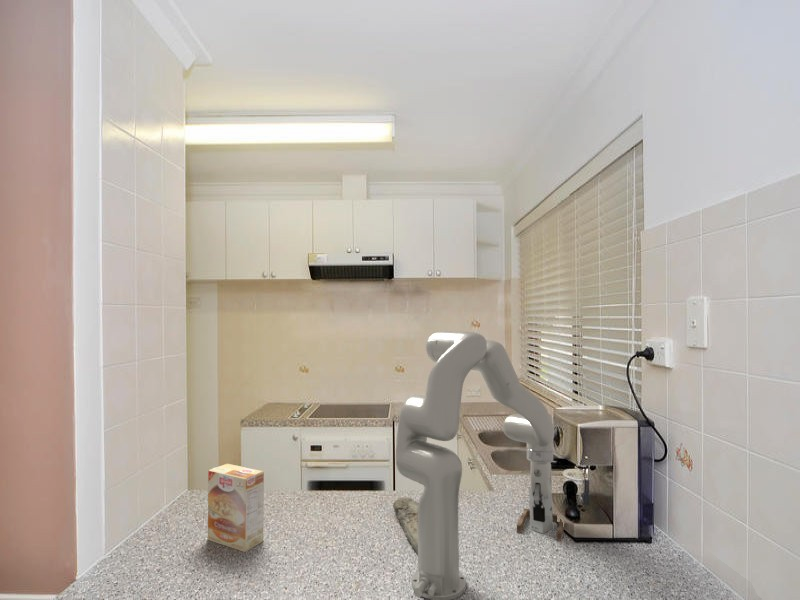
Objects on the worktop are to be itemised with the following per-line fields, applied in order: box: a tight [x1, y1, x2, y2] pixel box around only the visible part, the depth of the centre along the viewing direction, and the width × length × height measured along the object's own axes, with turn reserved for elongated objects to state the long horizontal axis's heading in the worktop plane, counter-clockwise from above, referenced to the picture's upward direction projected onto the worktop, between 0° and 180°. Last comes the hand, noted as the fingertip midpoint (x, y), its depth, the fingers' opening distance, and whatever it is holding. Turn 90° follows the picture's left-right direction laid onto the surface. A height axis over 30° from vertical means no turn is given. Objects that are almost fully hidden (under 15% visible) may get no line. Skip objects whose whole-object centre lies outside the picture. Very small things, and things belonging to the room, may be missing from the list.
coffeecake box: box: [207, 463, 265, 553], centre depth 124 cm, size 15×7×20 cm, turn 62°
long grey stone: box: [392, 496, 419, 556], centre depth 130 cm, size 35×5×10 cm
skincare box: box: [528, 486, 554, 534], centre depth 130 cm, size 6×4×12 cm
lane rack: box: [516, 508, 565, 542], centre depth 130 cm, size 12×12×2 cm
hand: (541, 515), depth 130 cm, fingers closed on skincare box, 6 cm apart
